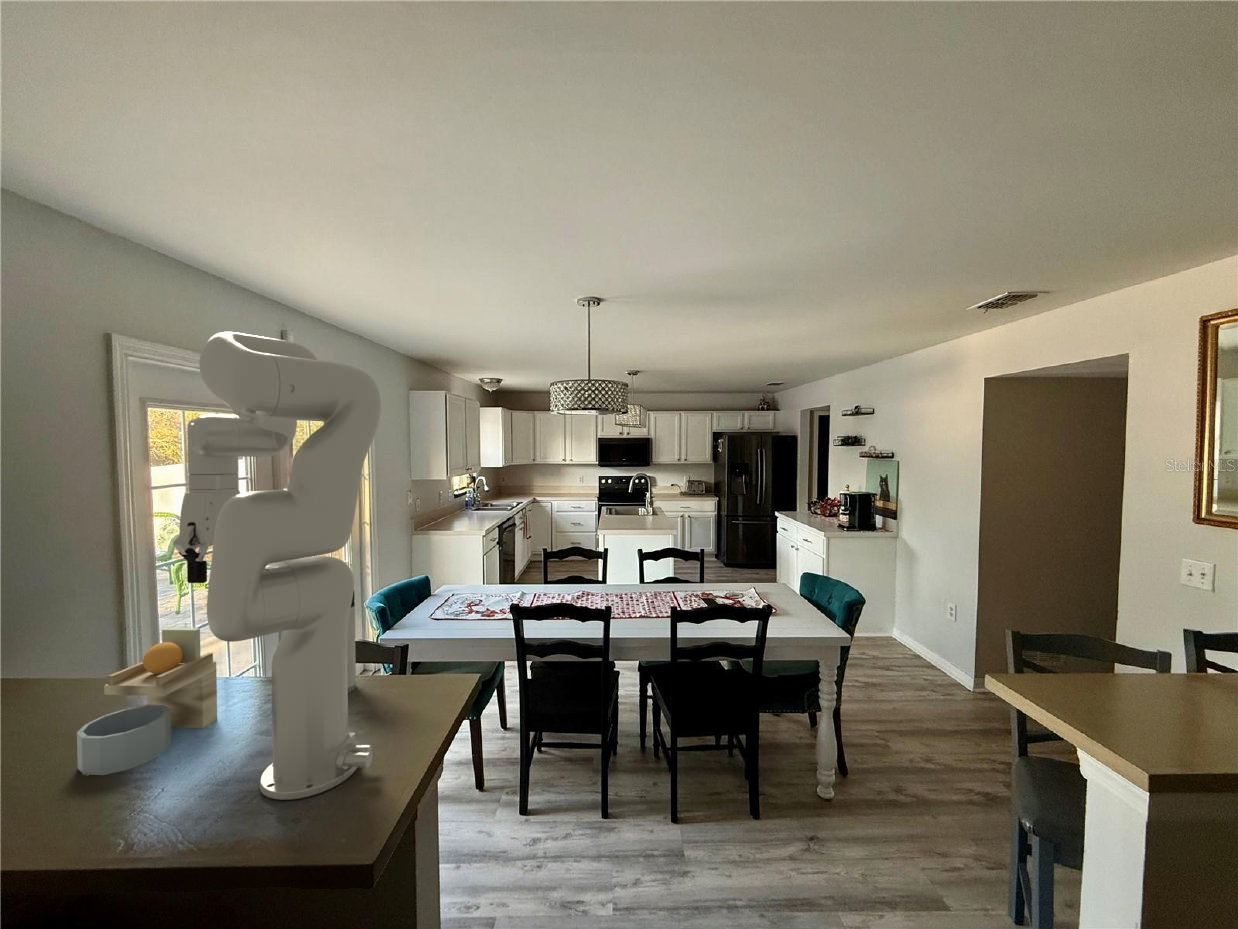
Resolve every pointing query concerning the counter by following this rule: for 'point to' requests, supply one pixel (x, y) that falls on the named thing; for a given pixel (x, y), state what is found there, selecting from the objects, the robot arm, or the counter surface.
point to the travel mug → (351, 650)
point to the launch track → (174, 690)
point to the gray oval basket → (123, 739)
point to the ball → (162, 657)
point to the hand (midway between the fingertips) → (215, 577)
